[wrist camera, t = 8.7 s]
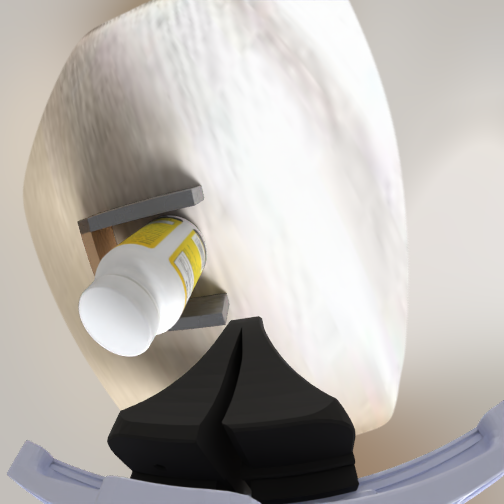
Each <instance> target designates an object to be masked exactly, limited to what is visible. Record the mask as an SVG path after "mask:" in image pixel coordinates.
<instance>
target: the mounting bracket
mask: <svg viewBox="0 0 504 504" xmlns="http://www.w3.org/2000/svg"><path fill="white" fill-rule="evenodd" d="M202 200H204V196H203V191H202V187H201V186H197V187H192V188H188V189H184V190H180V191H176V192H172V193H168V194H164V195H160V196H156V197H153V198H149V199H145V200H142V201H138V202H134V203H131V204H128V205H124V206H121V207H117V208H114V209H111V210H108V211H104V212H101V213H98V214H95V215H93V216H90V217H88V218H85V219H83V220H80V221H78V226H79V229H80V233H81V236H82V240H83V243H84V246H85V249H86V253H87V256H88V259H89V262H90V265H91V268H92V270H93V273H94V276H95V274H96V270H97V267H98V265H99V263H100V261H101V260H102V258H103V257H104V256H105V255H106V254H107V253H108V252H109V251H110V250H112V249H113V248H114V247H116V246H117V243H116V240H115V237H114V233H113V230H112V226H113V225H117V224H121V223H125V222H128V221H132V220H136V219H140V218H144V217H148V216H152V215H156V214H160V213H164V212H168V211H172V210H177V209H181V208H185V207H190V206H194V205H196V204H198V203H199V202H201V201H202ZM228 309H229V301H228V297H227V293H224V294H217V295H211V296H204V297H197V298H190V299H188V301H187V303H186V305H185V308H184V310H183V312H182V314H181V316H180V317H179V319H178V321H177V322H176V323H175V324H174V326H172V327H171V328H170V329H169V330H167V331H174V330H184V329H194V328H203V327H211V326H219V325H226V319H227V314H228Z"/></svg>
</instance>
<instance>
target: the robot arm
mask: <svg viewBox="0 0 504 504" xmlns="http://www.w3.org/2000/svg"><path fill="white" fill-rule="evenodd" d="M354 441H355V429H354V426H353V424H352V422H351V420H350V418H349V416H348V414H347V413H346V411H345V410H344V408H343V407H342V405H341V404H340V403H339V401H338V400H337V399H336V398H334V397H332V396H330V395H328V394H326V393H324V392H323V391H321V390H319V389H318V388H316V387H315V386H313V385H312V384H310V383H309V382H308V381H306V380H305V379H304V378H303V377H302V376H300V375H299V374H298V373H297V372H295V371H294V370H293V369H292V368H291V367H290V366H289V365H288V364H287V362H286V361H285V360H284V359H283V358H282V357H281V355H280V354H279V353H278V352H277V350H276V349H275V347H274V346H273V344H272V343H271V341H270V339H269V338H268V336H267V334H266V332H265V330H264V326H263V321H262V318H261V317H259V316H258V317H251V318H245V319H238V320H231V321H230V322H229V323H228V325H227V326H226V328H225V329H224V330H223V332H222V333H221V335H220V336H219V337H218V339H217V340H216V341H215V343H214V344H213V345H212V346H211V348H210V349H209V350H208V351H207V353H206V354H205V355H204V356H203V357H202V358H201V359H200V360H199V361H198V362H197V363H196V364H195V365H194V366H193V367H192V368H191V369H190V370H189V371H188V372H187V373H186V374H184V375H183V376H182V377H181V378H179V379H178V380H177V381H175V382H174V383H173V384H171V385H170V386H168V387H167V388H166V389H164V390H162V391H161V392H159V393H157V394H156V395H154V396H152V397H150V398H149V399H147V400H145V401H143V402H140V403H138V404H136V405H134V406H131V407H129V408H127V409H124V410H121V411H120V413H119V415H118V417H117V419H116V421H115V423H114V425H113V428H112V430H111V432H110V434H109V436H108V440H107V442H108V445H109V447H110V449H111V450H112V451H113V452H114V454H115V455H116V456H117V457H118V458H119V459H120V460H121V461H122V462H123V463H124V464H126V465H127V466H128V467H129V468H130V469H131V470H132V475H131V477H130V478H126V477H120V476H113V475H110V476H106V477H104V476H101V475H97V474H94V473H91V472H88V471H85V470H82V469H79V468H77V467H74V466H71V465H68V464H66V463H64V462H61V461H59V460H57V459H54V458H53V456H52V455H51V454H50V453H49V452H48V451H46V450H45V449H44V448H43V447H41V446H39V445H37V444H35V443H33V442H31V441H29V440H26V442H25V443H24V445H23V446H22V448H21V450H20V451H19V453H18V455H17V457H16V458H15V460H14V462H13V463H12V465H11V467H10V469H9V470H8V472H7V475H8V476H9V477H10V478H11V479H13V480H14V481H15V482H16V483H17V484H18V485H20V486H21V487H22V488H24V489H25V490H26V491H27V492H29V493H30V494H32V495H33V496H34V497H36V498H37V499H38V500H40V501H41V502H43V503H44V504H464V503H465V502H467V501H468V500H470V499H472V498H473V497H475V496H476V495H478V494H479V493H480V492H482V491H483V490H485V489H486V488H488V487H489V486H490V485H492V484H493V483H494V482H496V481H497V480H498V479H499V478H501V477H502V476H503V475H504V400H503V401H501V402H500V403H499V404H497V405H496V406H494V407H493V408H491V409H490V410H489V411H488V412H487V413H486V414H485V415H484V416H483V417H482V418H481V420H480V421H479V423H478V425H477V427H476V428H474V429H472V430H471V431H469V432H467V433H466V434H464V435H462V436H460V437H459V438H457V439H455V440H453V441H451V442H450V443H448V444H446V445H444V446H442V447H440V448H438V449H436V450H434V451H431V452H429V453H427V454H425V455H423V456H421V457H418V458H416V459H414V460H411V461H408V462H406V463H403V464H401V465H398V466H396V467H393V468H390V469H387V470H384V471H381V472H378V473H375V474H372V475H368V476H365V477H362V478H357V473H356V469H355V465H354V464H355V458H354V455H353V447H354Z"/></svg>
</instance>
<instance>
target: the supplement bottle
mask: <svg viewBox="0 0 504 504" xmlns="http://www.w3.org/2000/svg"><path fill="white" fill-rule="evenodd" d="M206 259H207V247H206V243H205V240H204V238H203V236H202V234H201V232H200V231H199V230H198V228H197V227H196V226H195V225H193V224H192V223H191V222H189V221H188V220H186V219H184V218H181V217H178V216H171V215H169V216H162V217H159V218H156V219H154V220H153V221H151V222H149V223H148V224H146V225H145V226H144V227H142V228H141V229H140V230H138V231H137V232H135V233H134V234H132V235H131V236H130V237H128V238H127V239H126V240H124V241H123V242H121V243H120V244H119V245H117V246H116V247H114V248H113V249H112V250H110V251H109V252H108V253H107V254H106V255H105V256H104V257H103V258H102V260H101V261H100V263H99V265H98V267H97V270H96V274H95V280H94V281H93V283H92V284H91V285H90V286H89V287H88V288H87V289H85V291H84V292H83V293H82V295H81V297H80V300H79V314H80V318H81V321H82V323H83V325H84V327H85V329H86V330H87V332H88V333H89V334H90V336H91V337H92V338H93V339H94V340H95V341H96V342H97V343H98V344H100V345H101V346H102V347H103V348H105V349H107V350H108V351H110V352H112V353H115V354H118V355H121V356H137V355H140V354H142V353H143V352H145V351H146V350H147V349H148V348H149V346H150V344H151V342H152V341H153V339H154V337H155V336H156V335H158V334H161V333H164V332H166V331H167V330H169V329H170V328H171V327H172V326H174V324H175V323H176V322H177V321H178V319H179V317H180V316H181V314H182V312H183V310H184V308H185V305H186V303H187V301H188V299H189V297H190V295H191V293H192V291H193V289H194V287H195V285H196V283H197V281H198V279H199V277H200V275H201V273H202V271H203V268H204V266H205V263H206Z"/></svg>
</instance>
